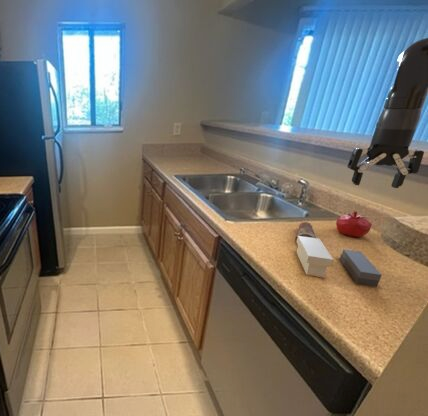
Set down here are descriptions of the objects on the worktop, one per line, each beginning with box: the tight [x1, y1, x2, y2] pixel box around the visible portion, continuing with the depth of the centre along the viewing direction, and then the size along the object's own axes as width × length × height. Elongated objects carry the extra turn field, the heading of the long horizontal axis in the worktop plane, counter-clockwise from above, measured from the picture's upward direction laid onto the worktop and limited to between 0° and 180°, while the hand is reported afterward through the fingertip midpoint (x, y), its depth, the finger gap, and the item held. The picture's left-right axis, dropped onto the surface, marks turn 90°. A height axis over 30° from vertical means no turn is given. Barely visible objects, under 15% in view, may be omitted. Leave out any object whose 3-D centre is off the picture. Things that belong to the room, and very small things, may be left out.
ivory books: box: [296, 245, 329, 279], centre depth 87 cm, size 4×14×4 cm, turn 157°
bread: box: [294, 221, 317, 245], centre depth 103 cm, size 6×19×6 cm, turn 143°
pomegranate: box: [335, 210, 372, 238], centre depth 105 cm, size 10×10×9 cm
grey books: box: [339, 248, 382, 288], centre depth 83 cm, size 4×14×4 cm, turn 157°
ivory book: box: [295, 236, 334, 268], centre depth 86 cm, size 6×14×2 cm, turn 157°
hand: (375, 185), depth 78 cm, fingers open, 8 cm apart
